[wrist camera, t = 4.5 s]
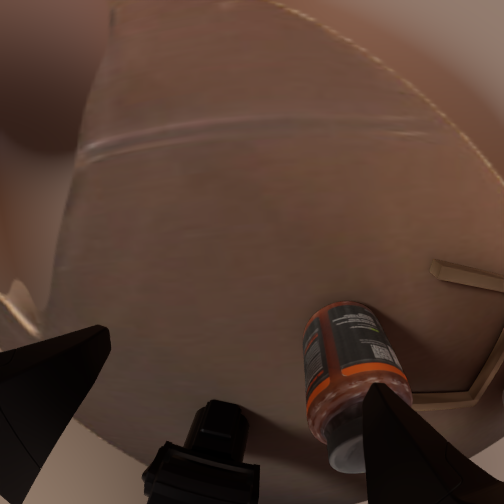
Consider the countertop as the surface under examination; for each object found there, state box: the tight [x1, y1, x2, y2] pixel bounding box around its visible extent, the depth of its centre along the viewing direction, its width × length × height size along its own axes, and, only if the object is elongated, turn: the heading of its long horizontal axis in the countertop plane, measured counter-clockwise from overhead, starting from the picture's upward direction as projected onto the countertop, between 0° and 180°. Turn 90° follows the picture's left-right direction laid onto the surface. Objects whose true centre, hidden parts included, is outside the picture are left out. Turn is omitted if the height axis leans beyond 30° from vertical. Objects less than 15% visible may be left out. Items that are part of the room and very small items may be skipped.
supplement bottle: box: [303, 301, 413, 473], centre depth 15 cm, size 6×6×11 cm
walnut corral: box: [411, 259, 504, 411], centre depth 19 cm, size 14×13×2 cm
